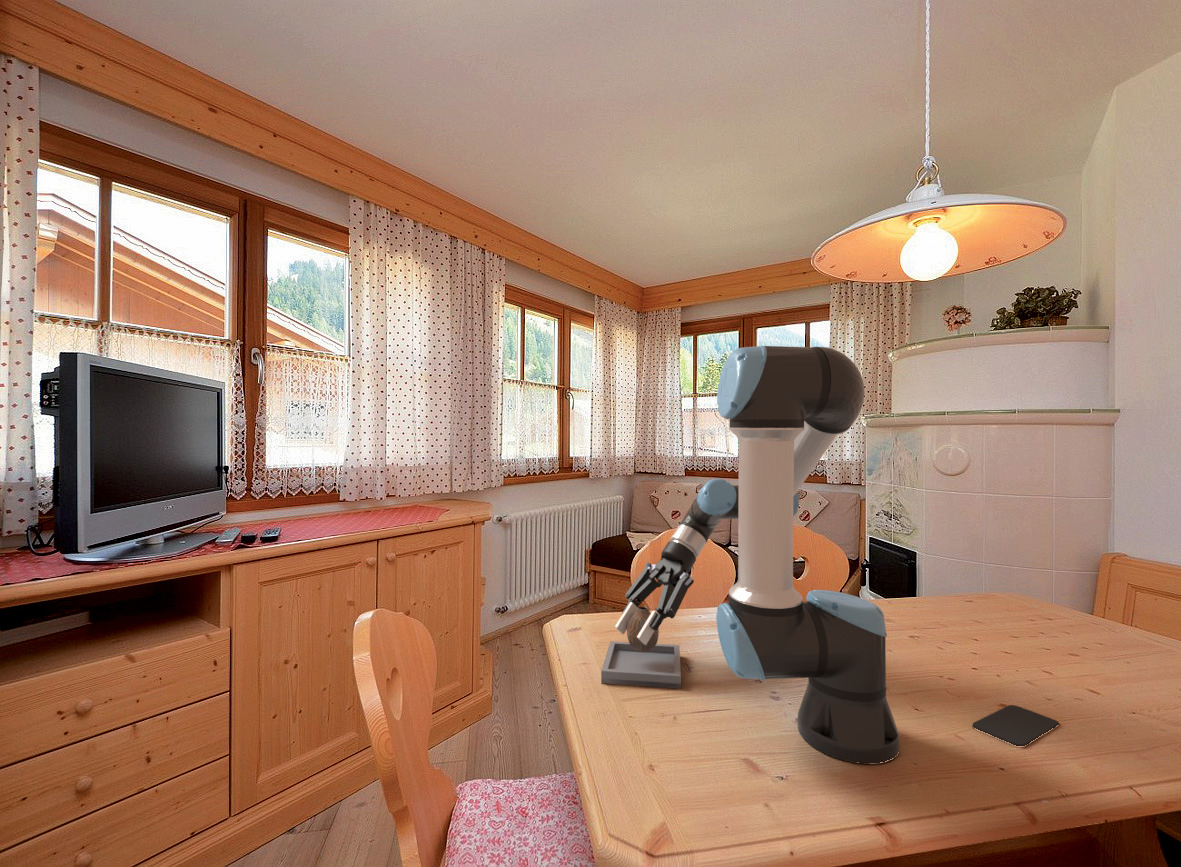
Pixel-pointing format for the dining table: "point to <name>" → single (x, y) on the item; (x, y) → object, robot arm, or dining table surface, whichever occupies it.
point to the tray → (642, 666)
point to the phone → (1015, 725)
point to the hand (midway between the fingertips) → (630, 635)
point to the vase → (636, 626)
